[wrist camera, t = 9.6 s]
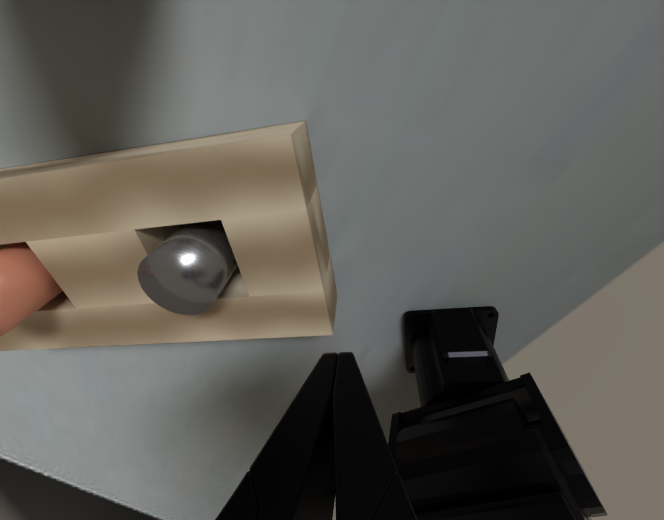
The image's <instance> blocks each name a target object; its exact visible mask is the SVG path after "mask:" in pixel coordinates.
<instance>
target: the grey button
mask: <svg viewBox="0 0 664 520" xmlns="http://www.w3.org/2000/svg"><path fill="white" fill-rule="evenodd" d="M237 266H238V264H237V262H236V259H235V256H234V254H233V251H232V248H231V246H230V243H229V240H228V237H227V235H226V232H225V229H224V227H223V224H222V221H221V220H215V221H206V222H197V223H188V224H183V225H182V226H181V227H179V228H178V229H177V230H176V231H175V232H174V233H172V234H171V235H170V236H169V237H168V238H167V239H166V240H164V241H163V242H162V243H161V244H160V245H159V246H158V247H156V248H155V249H154V250H153V251H152V252H151V253H150V254H148V255H147V256H146V257H145V258H144V259H143V260H142V261H141V262H140V264H139V267H138V271H137V275H138V281H139V283H140V286H141V288H142V289H143V291H144V292H145V293H146V295H147V296H148V297H149V298H150V299H151V300H152V301H153V302H155V303H156V304H157V305H159V306H160V307H162V308H164V309H166V310H168V311H171V312H173V313H177V314H181V315H197V314H201V313H203V312H205V311H207V310H208V309H209V308H210V307H211V306H212V305H213V303H214V302H215V300H216V299H217V297H218V295H219V294H220V292H221V291H222V289H223V288H224V286H225V284H226V283H227V281H228V280H229V278H230V277H231V275H232V273H233V272H234V270H235V269H236V267H237Z"/></svg>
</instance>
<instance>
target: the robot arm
mask: <svg viewBox="0 0 664 520" xmlns="http://www.w3.org/2000/svg"><path fill="white" fill-rule="evenodd" d="M489 313H491V314H489ZM410 317H413V318H410ZM497 321H498V312H497V310H496V308H495V307H492V306H487V307H469V308H452V309H434V310H417V311H408V312H406V313H405V314H404V329H405V353H406V369H407V371H408V372H410V373H416V379H417V385H418V391H419V397H420V402H421V407H420V408H417V409H414V410H410V411H407V412H404V413H401V412H398V413H395V414H392V420H391V427H390V435H389V442H388V444H387V441H386V438H385V436H384V433H383V430H382V428H381V425H380V423H379V420H378V417H377V415H376V412H375V409H374V407H373V404H372V402H371V399H370V396H369V394H368V391H367V388H366V386H365V383H364V380H363V378H362V375H361V373H360V370H359V367H358V365H357V362H356V359H355V357H354V354H353V353H352V352H341V353H339V354H337V353H324V354H323V355H322V356H321V358H320V359H319V361H318V362H317V364H316V366H315V367H314V369H313V370H312V372H311V373H310V375H309V376H308V378H307V380H306V381H305V383H304V384H303V386H302V387H301V389H300V391H299V392H298V394H297V395H296V397H295V398H294V400H293V401H292V403H291V405H290V406H289V408H288V409H287V411H286V412H285V414H284V415H283V417H282V419H281V420H280V422H279V423H278V425H277V426H276V428H275V430H274V431H273V433H272V434H271V436H270V437H269V439H268V440H267V442H266V444H265V445H264V447H263V448H262V450H261V451H260V453H259V454H258V456H257V458H256V459H255V461H254V462H253V464H252V465H251V467H250V471H248V472H247V473H246V474H245V476H244V478H243V479H242V481H241V482H240V484H239V486H238V487H237V489H236V490H235V492H234V493H233V495H232V496H231V497H230V499H229V500H228V502H227V503H226V505H225V506H224V508H223V509H222V511H221V512H220V514H219V515H218V516H217V518H216V519H215V520H332V517H333V509H334V500H335V497H336V520H591V518H590V517H597V516H606V515H607V513H606V511H605V509H604V507H603V505H602V503H601V501H600V499H599V498H598V496H597V494H596V492H595V490H594V488H593V487H592V484H591V483H590V481H589V479H588V477H587V475H586V473H585V472H584V469H583V468H582V466H581V464H580V462H579V460H578V458H577V457H576V455H575V453H574V451H573V449H572V447H571V445H570V444H569V442H568V440H567V438H566V437H565V435H564V433H563V431H562V429H561V427H560V426H559V424H558V422H557V420H556V419H555V416H554V415H553V413H552V411H551V410H550V408H549V406H548V404H547V402H546V401H545V399H544V397H543V395H542V393H541V392H540V390H539V388H538V386H537V385H536V383H535V381H534V379H533V378H532V376H531V374H530V373H527V374H524V375H521V376H520V378H517V379H513V380H510V381H509V379H508V377H507V375H506V373H505V371H504V368H503V366H502V364H501V362H500V360H499V358H498V356H497V353H496V351H495V349H494V347H493V345H494V339H495V333H496V327H497Z"/></svg>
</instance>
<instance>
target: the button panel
mask: <svg viewBox="0 0 664 520" xmlns="http://www.w3.org/2000/svg"><path fill="white" fill-rule="evenodd" d="M215 220H221V221H222V224H223V227H224V229H225V232H226V235H227V237H228V240H229V243H230V246H231V248H232V251H233V254H234V256H235V259H236V262H237V264H238V266H237V267H236V269H235V270H234V272H233V273H232V275H231V277H230V278H229V280H228V281H227V283H226V284H225V286H224V288H223V289H222V291H221V292H220V294H219V295H218V297H217V299H216V300H215V302H214V303H213V305H212V306H211V307H210V308H209V309H208V310H207V311H205V312H203V313H201V314H197V315H181V314H177V313H173V312H171V311H168V310H166V309H164V308H162V307H160V306H159V305H157V304H156V303H155V302H153V301H152V300H151V299H150V298H149V297H148V296H147V295H146V293H145V292H144V291H143V289H142V288H141V286H140V283H139V281H138V275H137V271H138V267H139V264H140V262H141V261H142V260H143V259H144V258H145V257H146V256H147V255H148V254H150V253H151V252H152V251H153V250H154V249H155V248H156V247H158V246H159V245H160V244H161V243H162V242H163V241H164V240H166V239H167V238H168V237H169V236H170V235H171V234H172V233H174V232H175V231H176V230H177V229H178V228H179V227H181V226H182V225H183V224H188V223H197V222H206V221H215ZM19 242H26V243H27V244H28V246H29V247H30V248H31V250H32V251H33V252H34V253H35V255H36V256H37V257H38V259H39V260H40V261H41V263H42V264H43V265H44V267H45V268H46V269H47V271H48V272H49V273H50V274H51V276H52V277H53V278H54V280H55V281H56V282H57V284H58V285H59V286H60V288H61V289H62V290H63V292H61V293H60V294H59V295H57V296H56V297H55V298H53V299H52V300H51V301H49V302H48V303H47V304H45V305H44V306H43V307H41V308H40V309H38V310H37V311H36V312H34V313H33V314H32V315H30V316H29V317H28V318H26V319H25V320H24V321H22V322H21V323H20V324H18V325H17V326H16V327H14V328H13V329H12V330H10V331H9V332H8V333H6V334H5V335H3V336H0V351H8V350H29V349H50V348H71V347H93V346H114V345H135V344H156V343H177V342H198V341H219V340H240V339H261V338H282V337H303V336H324V335H333V329H334V320H335V311H336V303H337V291H336V285H335V280H334V274H333V269H332V263H331V258H330V252H329V247H328V241H327V236H326V231H325V225H324V220H323V214H322V209H321V203H320V198H319V192H318V187H317V181H316V176H315V170H314V165H313V159H312V154H311V148H310V143H309V137H308V132H307V126H306V121H302V122H295V123H289V124H283V125H276V126H270V127H264V128H257V129H251V130H245V131H238V132H232V133H226V134H219V135H213V136H207V137H200V138H194V139H188V140H182V141H175V142H169V143H163V144H156V145H150V146H144V147H137V148H131V149H125V150H118V151H112V152H106V153H99V154H93V155H87V156H80V157H74V158H68V159H61V160H55V161H49V162H43V163H36V164H30V165H24V166H17V167H11V168H5V169H0V249H2V248H4V247H6V246H8V245H10V244H12V243H19Z"/></svg>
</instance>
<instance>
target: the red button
mask: <svg viewBox="0 0 664 520" xmlns="http://www.w3.org/2000/svg"><path fill="white" fill-rule="evenodd" d="M61 292H63V290H62V289H61V288H60V286H59V285H58V284H57V282H56V281H55V280H54V278H53V277H52V276H51V274H50V273H49V272H48V271H47V269H46V268H45V267H44V265H43V264H42V263H41V261H40V260H39V259H38V257H37V256H36V255H35V253H34V252H33V251H32V250H31V248H30V247H29V246H28V244H27V243H26V242H19V243H12V244H10V245H8V246H6V247H4V248H2V249H0V336H3V335H5V334H6V333H8V332H9V331H10V330H12V329H13V328H14V327H16V326H17V325H18V324H20V323H21V322H22V321H24V320H25V319H26V318H28V317H29V316H30V315H32V314H33V313H34V312H36V311H37V310H38V309H40V308H41V307H43V306H44V305H45V304H47V303H48V302H49V301H51V300H52V299H53V298H55V297H56V296H57V295H59V294H60V293H61Z"/></svg>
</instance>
